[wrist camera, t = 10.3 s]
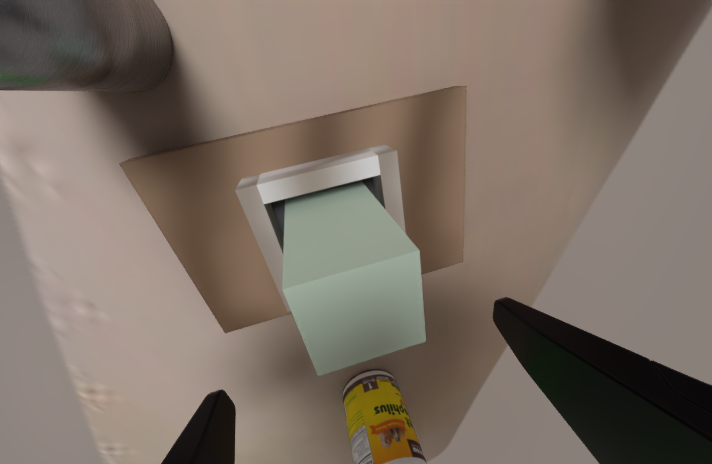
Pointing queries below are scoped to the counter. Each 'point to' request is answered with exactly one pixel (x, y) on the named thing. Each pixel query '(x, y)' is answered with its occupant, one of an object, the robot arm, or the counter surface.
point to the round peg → (83, 45)
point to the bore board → (300, 177)
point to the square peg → (350, 278)
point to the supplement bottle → (379, 421)
